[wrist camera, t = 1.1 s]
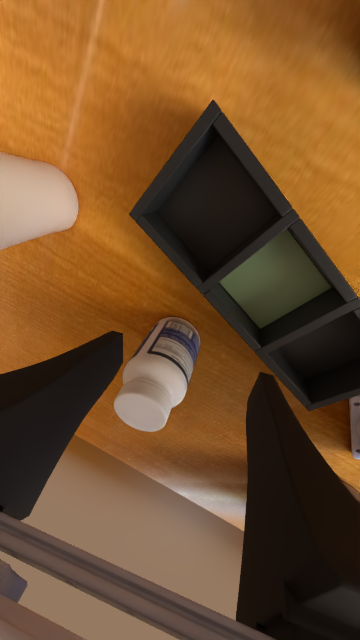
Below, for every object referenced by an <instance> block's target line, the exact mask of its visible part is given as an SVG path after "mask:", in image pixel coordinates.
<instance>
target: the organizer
mask: <svg viewBox="0 0 360 640" xmlns="http://www.w3.org/2000/svg"><path fill="white" fill-rule="evenodd" d="M129 215H130V216H131V217H132V218H133V219H134V220H135V221H136V223H137V224H138V225H139V226H140V227H141V228H142V229H143V230H144V231H145V233H146V234H147V235H148V236H149V237H150V238H151V239H152V240H153V241H154V242H155V243H156V245H157V246H158V247H159V248H160V249H161V250H162V251H163V252H164V253H165V254H166V256H167V257H168V258H169V259H170V260H171V261H172V262H173V263H174V264H175V265H176V266H177V268H178V269H179V270H180V271H181V272H182V273H183V274H184V275H185V276H186V277H187V279H188V280H189V281H190V282H191V283H192V284H193V285H194V286H195V287H196V288H197V289H198V290H199V291H200V293H201V294H203V296H204V297H205V298H206V299H207V300H208V301H209V302H210V304H211V305H212V306H213V307H214V308H215V309H216V310H217V311H218V312H219V313H220V314H221V316H222V317H223V318H224V319H225V320H226V321H227V322H228V323H229V324H230V325H231V327H232V328H233V329H234V330H235V331H236V332H237V333H238V334H239V335H240V336H241V337H242V339H243V340H244V341H245V342H246V343H247V344H248V345H249V346H250V347H251V348H252V349H253V351H255V353H256V354H257V355H258V356H259V357H260V358H261V360H262V361H263V362H264V363H265V364H266V365H267V366H268V367H269V368H270V369H271V370H272V372H273V373H274V374H275V375H276V376H277V377H278V378H279V379H280V380H281V381H282V383H283V384H284V385H285V386H286V387H287V388H288V389H289V390H290V391H291V392H292V393H293V395H294V396H295V397H296V398H297V399H298V400H299V401H300V402H301V403H302V404H303V406H305V408H306V409H307V410H308V411H311V410H314V409H318V408H321V407H324V406H327V405H330V404H333V403H336V402H339V401H342V400H346V399H349V398H352V397H355V396H358V395H360V299H359V297H358V296H357V295H356V293H355V292H354V291H353V289H352V288H351V286H350V285H349V284H348V282H347V281H346V280H345V278H344V277H343V276H342V274H341V273H340V271H339V270H338V269H337V267H336V266H335V265H334V263H333V262H332V261H331V259H330V258H329V256H328V255H327V254H326V252H325V251H324V250H323V248H322V247H321V246H320V244H319V243H318V241H317V240H316V239H315V237H314V236H313V235H312V233H311V232H310V231H309V229H308V228H307V226H306V225H305V224H304V222H303V221H302V220H301V219H300V218H299V215H298V214H297V213H296V211H295V210H294V209H292V206H291V205H290V203H289V202H288V200H287V199H286V198H285V196H284V195H283V194H282V192H281V191H280V190H279V188H278V187H277V185H276V184H275V183H274V181H273V180H272V179H271V177H270V176H269V175H268V173H267V172H266V170H265V169H264V168H263V166H262V165H261V164H260V162H259V161H258V160H257V158H256V157H255V155H254V154H253V153H252V151H251V150H250V149H249V147H248V146H247V145H246V143H245V142H244V140H243V139H242V138H241V136H240V135H239V134H238V132H237V131H236V130H235V128H234V127H233V125H232V124H231V123H230V121H229V120H228V119H227V117H226V116H225V114H224V113H223V112H222V111H221V109H220V108H219V106H218V105H217V103H216V102H215V101H214V100H212V101H211V103H210V104H209V105H208V107H207V108H206V109H205V111H204V112H203V113H202V115H201V116H200V118H199V119H198V120H197V122H196V123H195V124H194V126H193V127H192V128H191V130H190V131H189V133H188V134H187V135H186V137H185V138H184V139H183V141H182V142H181V143H180V145H179V146H178V148H177V149H176V150H175V152H174V153H173V154H172V156H171V157H170V158H169V160H168V161H167V163H166V164H165V165H164V167H163V168H162V169H161V171H160V172H159V173H158V175H157V176H156V178H155V179H154V180H153V182H152V183H151V184H150V186H149V187H148V188H147V190H146V191H145V193H144V194H143V195H142V197H141V198H140V199H139V201H138V202H137V203H136V205H135V206H134V208H133V209H132V210H131V212H130V213H129Z"/></svg>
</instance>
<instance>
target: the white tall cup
mask: <svg viewBox="0 0 360 640" xmlns="http://www.w3.org/2000/svg"><path fill="white" fill-rule="evenodd" d="M78 212H79V203H78V197H77V194H76V191H75V188H74V186H73V184H72V183H71V181H70V179H69V178H68V177H67V176H66V174H65V173H64V172H63V171H62V170H60V169H59V168H58V167H56V166H55V165H53V164H51V163H48V162H44V161H39V160H33V159H27V158H24V157H20V156H16V155H12V154H9V153H5V152H1V151H0V250H3V249H6V248H9V247H12V246H15V245H18V244H21V243H24V242H27V241H30V240H33V239H36V238H39V237H42V236H45V235H49V234H53V233H58V232H62V231H65V230H67V229H69V228H70V227H72V226H73V224H74V223H75V221H76V219H77V217H78Z"/></svg>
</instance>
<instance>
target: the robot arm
mask: <svg viewBox="0 0 360 640" xmlns="http://www.w3.org/2000/svg"><path fill="white" fill-rule="evenodd" d="M122 363H123V333H120V332H116V331H110V332H108V333H106V334H104V335H102V336H100V337H98V338H96V339H94V340H92V341H90V342H88V343H85V344H83V345H81V346H79V347H77V348H75V349H73V350H70V351H68V352H66V353H63V354H61V355H59V356H56V357H54V358H51V359H48V360H46V361H43V362H40V363H37V364H34V365H31V366H28V367H25V368H21V369H18V370H14V371H11V372H7V373H4V374H0V551H2V552H4V553H6V554H8V555H10V556H12V557H14V558H16V559H19V560H20V561H22V562H24V563H26V564H28V565H30V566H32V567H34V568H36V569H38V570H40V571H42V572H44V573H47V574H49V575H51V576H53V577H55V578H57V579H59V580H61V581H63V582H65V583H67V584H69V585H71V586H73V587H75V588H77V589H79V590H81V591H83V592H85V593H87V594H89V595H91V596H93V597H95V598H97V599H99V600H101V601H103V602H105V603H107V604H109V605H111V606H113V607H115V608H117V609H119V610H121V611H123V612H125V613H127V614H129V615H131V616H133V617H135V618H137V619H139V620H141V621H143V622H145V623H147V624H149V625H151V626H153V627H155V628H157V629H159V630H161V631H164V632H165V633H168V634H169V635H172V636H174V637H176V638H178V639H180V640H360V502H359V501H358V500H357V499H356V498H355V497H354V496H353V494H352V493H351V492H350V491H349V490H348V488H347V487H346V486H345V485H344V484H343V482H342V481H341V480H340V479H339V477H338V476H337V475H336V474H335V473H334V471H333V470H332V469H331V467H330V466H329V465H328V464H327V462H326V461H325V460H324V458H323V457H322V455H321V454H320V453H319V451H318V450H317V449H316V447H315V446H314V444H313V443H312V442H311V440H310V439H309V437H308V436H307V434H306V432H305V431H304V429H303V428H302V426H301V425H300V423H299V421H298V420H297V418H296V416H295V415H294V413H293V411H292V409H291V408H290V406H289V404H288V402H287V400H286V399H285V397H284V395H283V393H282V391H281V389H280V387H279V385H278V383H277V382H276V380H275V378H274V376H273V375H270V374H266V373H263V372H260V373H259V376H258V378H257V380H256V382H255V385H254V387H253V389H252V391H251V394H250V396H249V398H248V402H247V413H246V437H247V463H248V482H247V500H246V515H245V530H244V541H243V554H242V565H241V574H240V584H239V593H238V602H237V611H236V621H235V620H233V619H230V618H229V617H226V616H224V615H222V614H220V613H218V612H216V611H213V610H211V609H209V608H207V607H205V606H202V605H200V604H198V603H196V602H194V601H192V600H190V599H187V598H185V597H183V596H181V595H179V594H177V593H174V592H172V591H170V590H168V589H166V588H163V587H162V586H159V585H157V584H155V583H153V582H151V581H149V580H146V579H144V578H142V577H140V576H138V575H136V574H133V573H131V572H129V571H127V570H125V569H123V568H120V567H118V566H116V565H114V564H112V563H110V562H107V561H105V560H103V559H101V558H99V557H97V556H94V555H92V554H90V553H88V552H86V551H84V550H82V549H79V548H77V547H75V546H72V545H71V544H69V543H66V542H64V541H62V540H60V539H58V538H56V537H54V536H51V535H49V534H47V533H45V532H43V531H41V530H38V529H36V528H34V527H32V526H30V525H27V524H25V523H23V522H21V521H20V520H23V519H24V518H26V517H28V516H29V515H30V513H31V511H32V509H33V507H34V505H35V503H36V501H37V500H38V497H39V496H40V494H41V492H42V490H43V488H44V486H45V484H46V482H47V480H48V478H49V477H50V475H51V473H52V471H53V469H54V468H55V466H56V464H57V462H58V461H59V459H60V457H61V455H62V454H63V452H64V450H65V448H66V447H67V445H68V443H69V442H70V440H71V438H72V437H73V435H74V433H75V432H76V430H77V429H78V427H79V425H80V424H81V422H82V420H83V419H84V418H85V416H86V415H87V413H88V412H89V411H90V409H91V408H92V407H93V405H94V404H95V403H96V401H97V400H98V399H99V397H100V396H101V395H102V394H103V392H104V391H105V390H106V388H107V387H108V386H109V384H110V383H111V382H112V380H113V379H114V377H115V376H116V374H117V372H118V371H119V369H120V367H121V365H122ZM349 406H350V427H351V447H352V455H353V457H354V458H355V459H360V395H358V396H355V397H352V398H349ZM26 587H27V581H26V580H24V579H23V578H22V577H20V576H19V575H18V574H17V573H16V572H14V571H13V570H12V569H11V566H10V565H9V564H7V563H5V562H4V561H2V560H0V640H86V639H84V638H82V637H80V636H79V635H77V634H75V633H73V632H71V631H69V630H67V629H65V628H64V627H62V626H60V625H58V624H56V623H54V622H52V621H50V620H49V619H47V618H45V617H43V616H41V615H39V614H37V613H35V612H33V611H31V610H30V609H28V608H26V607H24V606H22V605H20V604H18V601H19V599H20V598H21V596H22V594H23V592H24V590H25V589H26Z"/></svg>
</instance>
